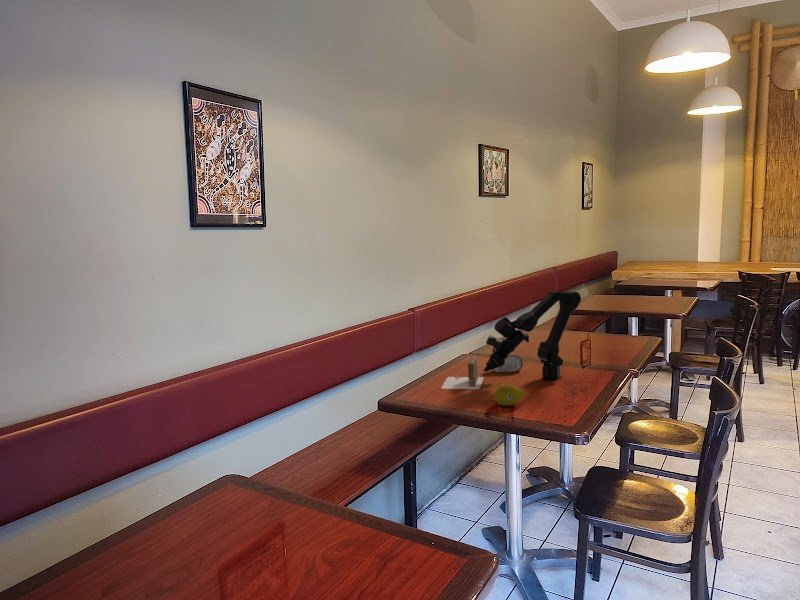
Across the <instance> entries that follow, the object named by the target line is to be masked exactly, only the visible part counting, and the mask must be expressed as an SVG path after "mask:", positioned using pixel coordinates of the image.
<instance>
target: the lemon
mask: <svg viewBox="0 0 800 600" xmlns="http://www.w3.org/2000/svg"><path fill="white" fill-rule="evenodd" d="M492 396H493V397H494V399H495V401H496V403H497V404H499V405H500V406H503V407H511V406H514V405H516V404H517V403H518V402H519V401H520V400H521V399H522V398H523V396H524V390H523V389H521V388H520V387H517V386H515V385H513V384H506V383H504V384H502V385H500V386H498V387H497V388H496V389H495V392H494V393H493V395H492Z"/></svg>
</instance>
